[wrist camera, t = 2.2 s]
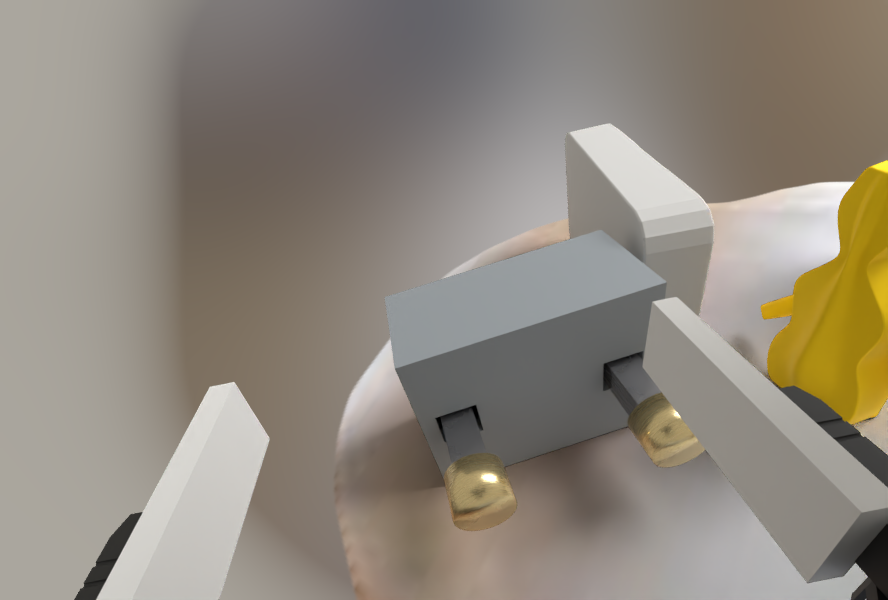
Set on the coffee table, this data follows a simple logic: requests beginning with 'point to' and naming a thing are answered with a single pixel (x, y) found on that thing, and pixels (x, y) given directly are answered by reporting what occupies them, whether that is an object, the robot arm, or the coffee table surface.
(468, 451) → the knob
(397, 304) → the knob housing
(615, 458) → the coffee table surface
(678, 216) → the rounded white slab
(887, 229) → the figure statuette
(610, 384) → the knob
